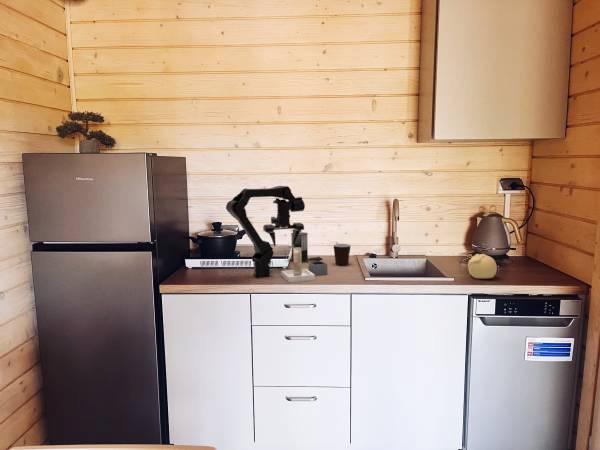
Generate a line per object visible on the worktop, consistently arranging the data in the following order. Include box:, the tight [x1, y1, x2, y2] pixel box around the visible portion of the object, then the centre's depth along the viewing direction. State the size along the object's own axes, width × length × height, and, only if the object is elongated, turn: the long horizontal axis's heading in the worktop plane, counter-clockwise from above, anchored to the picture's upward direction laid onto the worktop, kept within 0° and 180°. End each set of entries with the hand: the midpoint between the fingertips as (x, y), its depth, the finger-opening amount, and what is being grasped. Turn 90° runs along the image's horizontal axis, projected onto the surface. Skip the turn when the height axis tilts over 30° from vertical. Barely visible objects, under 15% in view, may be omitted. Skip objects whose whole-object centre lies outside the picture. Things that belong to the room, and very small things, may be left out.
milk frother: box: [290, 231, 323, 263], centre depth 235 cm, size 14×16×15 cm
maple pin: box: [293, 247, 303, 276], centre depth 201 cm, size 4×4×13 cm
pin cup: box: [308, 260, 328, 277], centre depth 210 cm, size 7×7×5 cm
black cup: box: [333, 243, 351, 267], centre depth 228 cm, size 12×9×10 cm
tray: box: [280, 268, 316, 283], centre depth 202 cm, size 12×12×2 cm
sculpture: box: [467, 253, 498, 279], centre depth 199 cm, size 12×12×11 cm
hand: (284, 245), depth 212 cm, fingers open, 9 cm apart
